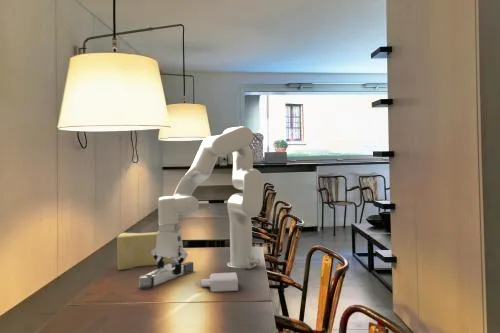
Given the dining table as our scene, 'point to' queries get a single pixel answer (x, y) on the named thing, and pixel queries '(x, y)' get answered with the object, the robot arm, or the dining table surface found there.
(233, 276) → the charger
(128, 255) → the cheese
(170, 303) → the dining table surface
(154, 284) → the tongs leg
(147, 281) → the tongs hinge pin
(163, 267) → the tongs leg
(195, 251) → the dining table surface
